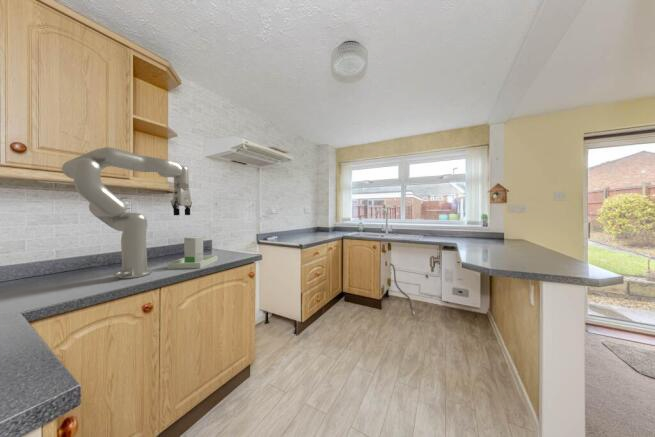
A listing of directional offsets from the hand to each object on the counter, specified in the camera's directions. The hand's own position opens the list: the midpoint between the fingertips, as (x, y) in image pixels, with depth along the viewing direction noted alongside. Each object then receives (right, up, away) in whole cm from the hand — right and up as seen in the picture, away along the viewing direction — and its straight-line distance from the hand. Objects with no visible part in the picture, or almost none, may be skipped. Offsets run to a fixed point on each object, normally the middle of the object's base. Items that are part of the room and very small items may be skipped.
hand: (182, 215), depth 136 cm
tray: (+8, -30, -1) cm, 31 cm away
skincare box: (+8, -29, 0) cm, 30 cm away
